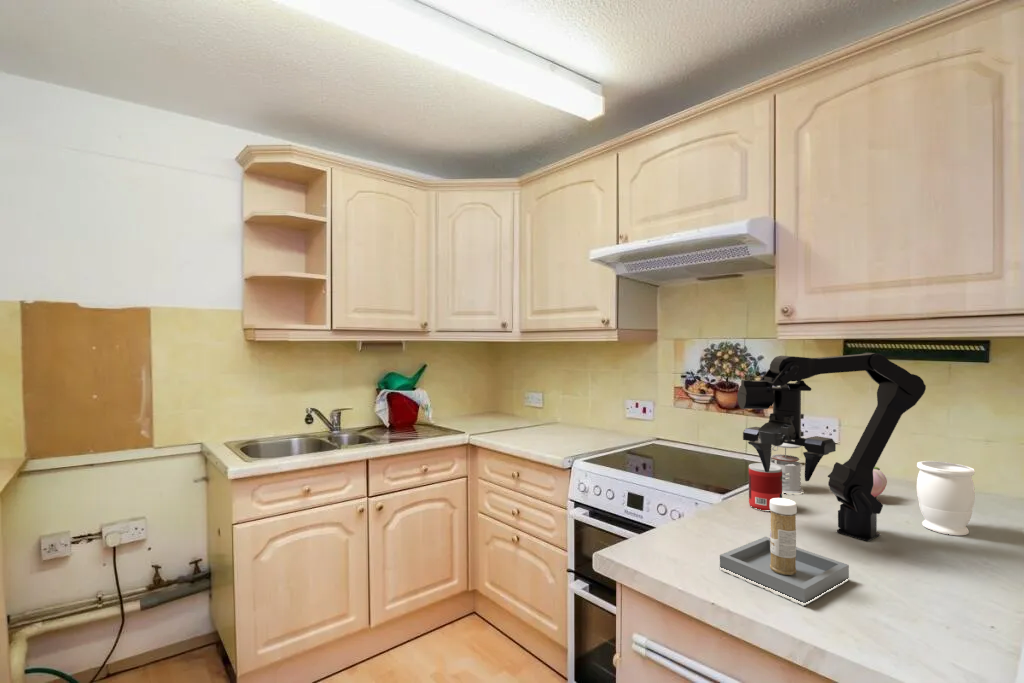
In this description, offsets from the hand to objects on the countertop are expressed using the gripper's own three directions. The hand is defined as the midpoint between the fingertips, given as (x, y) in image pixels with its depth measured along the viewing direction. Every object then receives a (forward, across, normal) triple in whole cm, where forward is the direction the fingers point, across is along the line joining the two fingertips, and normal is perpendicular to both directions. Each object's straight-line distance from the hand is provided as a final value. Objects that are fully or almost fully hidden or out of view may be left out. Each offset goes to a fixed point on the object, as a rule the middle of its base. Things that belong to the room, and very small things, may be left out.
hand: (786, 476), depth 116 cm
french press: (+13, -18, +32) cm, 39 cm away
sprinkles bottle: (+13, +11, -22) cm, 27 cm away
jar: (+13, +20, +32) cm, 40 cm away
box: (+13, +11, -22) cm, 28 cm away
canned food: (+13, -12, +12) cm, 22 cm away
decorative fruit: (+13, 0, +42) cm, 44 cm away
